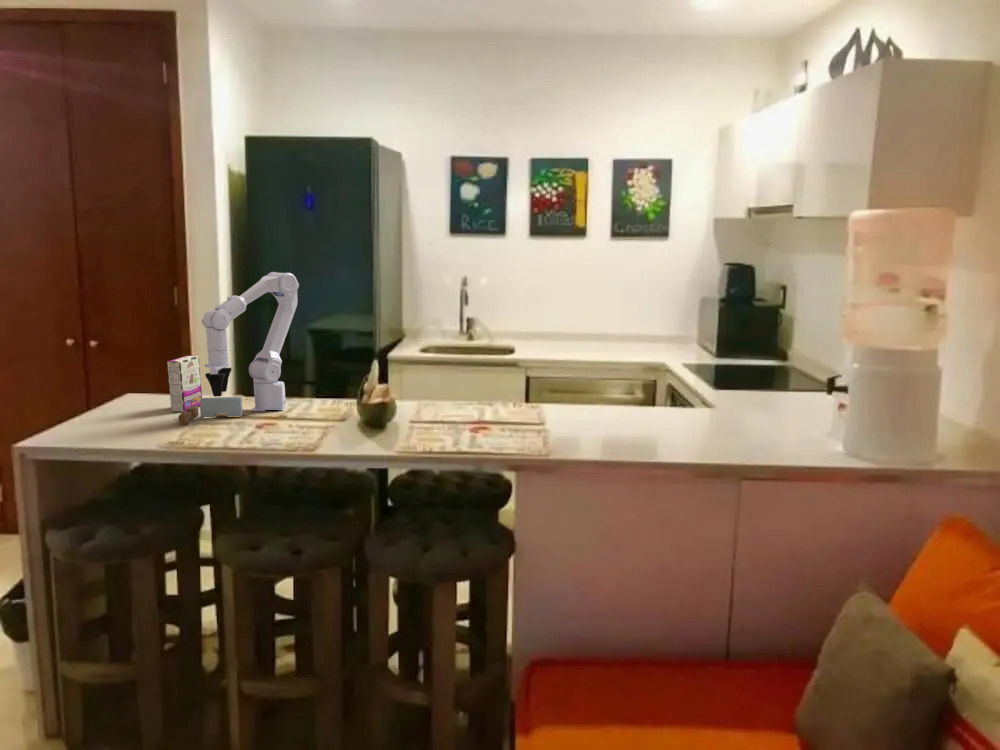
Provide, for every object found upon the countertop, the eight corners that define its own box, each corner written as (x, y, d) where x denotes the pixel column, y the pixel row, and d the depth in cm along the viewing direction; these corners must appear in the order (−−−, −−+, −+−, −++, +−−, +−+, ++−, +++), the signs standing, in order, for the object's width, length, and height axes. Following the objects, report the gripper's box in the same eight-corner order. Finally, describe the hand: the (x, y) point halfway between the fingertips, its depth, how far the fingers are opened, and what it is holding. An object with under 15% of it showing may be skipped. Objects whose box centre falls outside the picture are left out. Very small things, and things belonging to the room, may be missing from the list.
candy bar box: (189, 404, 283) (185, 355, 281) (203, 405, 282) (199, 355, 280) (170, 412, 272) (166, 360, 270) (184, 412, 272) (180, 361, 269)
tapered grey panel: (242, 415, 266) (241, 396, 265) (241, 417, 264) (240, 398, 263) (202, 417, 265) (201, 397, 264) (200, 418, 262) (199, 399, 261)
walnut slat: (198, 415, 267) (198, 405, 267) (187, 425, 254) (186, 415, 253) (190, 415, 267) (190, 406, 267) (179, 425, 253) (178, 415, 253)
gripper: (209, 346, 267) (211, 389, 270) (198, 353, 253) (201, 398, 255) (232, 346, 268) (235, 389, 270) (222, 352, 254) (225, 398, 256)
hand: (220, 393), depth 263 cm, fingers open, 7 cm apart
